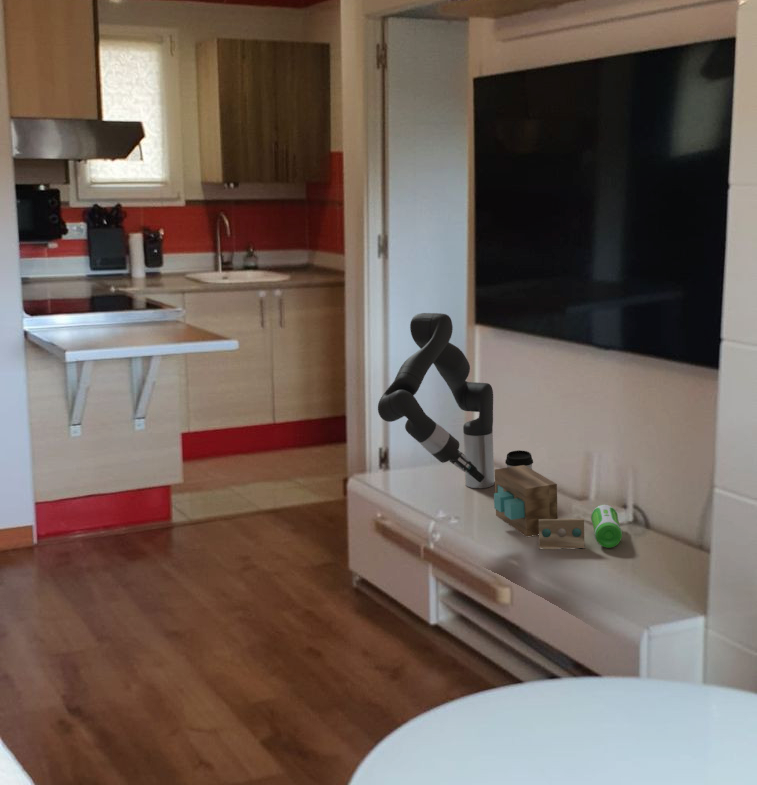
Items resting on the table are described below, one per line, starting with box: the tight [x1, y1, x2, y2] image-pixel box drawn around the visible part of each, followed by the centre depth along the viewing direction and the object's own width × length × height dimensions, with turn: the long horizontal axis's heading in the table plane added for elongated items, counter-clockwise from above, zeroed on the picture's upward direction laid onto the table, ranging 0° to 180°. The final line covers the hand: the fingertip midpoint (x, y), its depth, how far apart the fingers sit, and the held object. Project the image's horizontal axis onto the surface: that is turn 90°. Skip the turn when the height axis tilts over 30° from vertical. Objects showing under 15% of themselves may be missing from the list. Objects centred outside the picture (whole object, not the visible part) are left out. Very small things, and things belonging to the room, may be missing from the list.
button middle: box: [493, 491, 514, 512], centre depth 331 cm, size 6×4×4 cm
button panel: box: [494, 465, 559, 537], centre depth 333 cm, size 10×21×14 cm, turn 18°
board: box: [538, 518, 586, 550], centre depth 315 cm, size 5×12×8 cm, turn 83°
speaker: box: [590, 504, 623, 549], centre depth 319 cm, size 18×7×8 cm, turn 174°
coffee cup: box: [505, 449, 534, 470], centre depth 353 cm, size 8×8×15 cm
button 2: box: [504, 498, 525, 520], centre depth 325 cm, size 6×4×4 cm
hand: (481, 479), depth 325 cm, fingers closed
